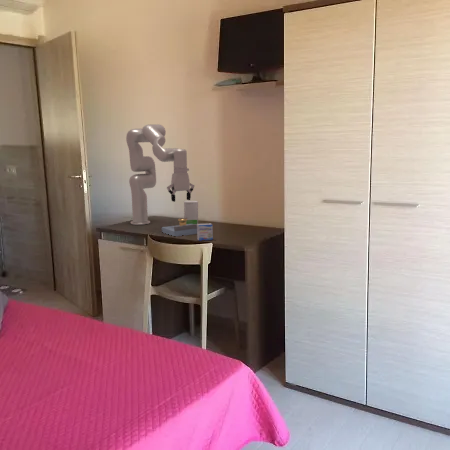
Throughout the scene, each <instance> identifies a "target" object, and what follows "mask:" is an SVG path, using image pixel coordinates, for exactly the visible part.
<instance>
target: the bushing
mask: <svg viewBox="0 0 450 450" xmlns="http://www.w3.org/2000/svg"><path fill="white" fill-rule="evenodd" d="M177 221H178V223H179V224H178V225H179V226H183V225H186V221H187V219H186V218H184V217H183V218H178V219H177Z"/></svg>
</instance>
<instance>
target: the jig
mask: <svg viewBox="0 0 450 450" xmlns="http://www.w3.org/2000/svg"><path fill="white" fill-rule="evenodd" d="M199 224H204V223H202V222H201V223H199ZM162 232H163V233H162ZM161 233H162V234H165V233H166V234H165V235H168V234H169V236H171V235H172V236H171V237H173V236H176V237H183V236H182V235H184V236H189V235H191V236H192V235H197V224H186V225H183V226H179V224H178V225H169V226H162V227H161Z"/></svg>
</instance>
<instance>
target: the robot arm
mask: <svg viewBox="0 0 450 450" xmlns="http://www.w3.org/2000/svg"><path fill="white" fill-rule="evenodd" d="M125 138H126V140H125V141H126V144H127V147H128V148H127V149H128V153H129V154H128V155H129V163H130V164H129V165H130V169H131V171H132V172H135V174H132V175H131V176H130V178H129V187H130V194H131V206H132V207H131V209H132V210H131V211H132V220H131V221H130V225H136V226H137V225H138V226H140V225H149V224H150V223H151V220H149V219H148V197H147V193H146V191H145V189H151V188H154V187H156V184H157V172H156V171H157V170H156V164H155V163H156V162H155V161H154V159H153V157H152V156H148V155H147V156H144V152H143V148H142V146H141V144H140V143H150V144H151V146H152V150H151V151H152V154H153V155H154V156H155V158H156V159H157V160H158V161H160V162H162V163H163V162H164V163H166V162H168V163H170V162H173V173H171V174H172V175H171V182H170V184H169V185H168V186H166V189H167V192H168V193H169V194H170V198H171V202H173V203H174V202H176V192H181V191H182V192H183V191H185V192H186V201H191V198H192V197H191V195H192V192H193V191H194V189H195V184H193V183H190V176H189V173H188V172H189V171H190V169H189V168H188V156H187V149H184V148H176V147H174V148H170V147H169V148H163V146H164V145H165V143H166V128H165V127H164V126H163V125H162V124H160V123H159V124H158V123H157V124H146V125H144V126H143V127H142V128H131V129H130V130H128V131H127V133H126V137H125ZM140 172H141V173H140ZM142 172H145V173H142Z"/></svg>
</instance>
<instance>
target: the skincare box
mask: <svg viewBox="0 0 450 450" xmlns="http://www.w3.org/2000/svg"><path fill="white" fill-rule="evenodd" d="M183 212H184V213H183V218H186V219H187V221H186V224H199V201H198V200H184V201H183Z"/></svg>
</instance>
